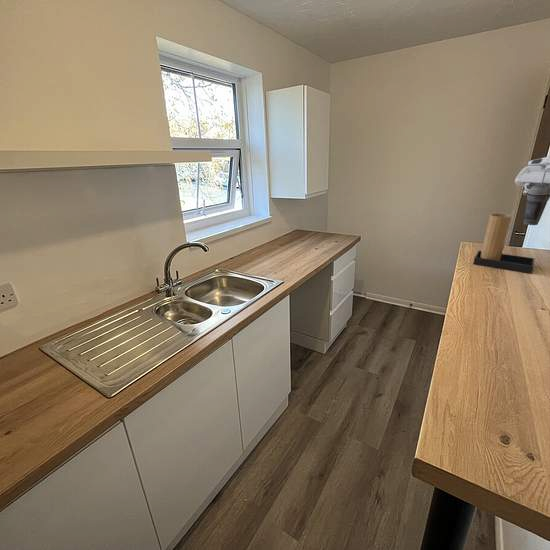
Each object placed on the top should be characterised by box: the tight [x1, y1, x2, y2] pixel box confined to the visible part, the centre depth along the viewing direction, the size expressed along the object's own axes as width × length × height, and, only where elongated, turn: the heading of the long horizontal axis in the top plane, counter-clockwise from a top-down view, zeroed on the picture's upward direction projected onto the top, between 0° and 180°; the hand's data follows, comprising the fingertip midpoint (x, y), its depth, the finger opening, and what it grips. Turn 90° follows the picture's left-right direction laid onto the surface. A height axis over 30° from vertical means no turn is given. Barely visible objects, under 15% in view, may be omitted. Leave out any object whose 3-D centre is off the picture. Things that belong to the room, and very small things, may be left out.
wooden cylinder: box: [480, 213, 513, 261], centre depth 123 cm, size 7×7×20 cm
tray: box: [473, 250, 535, 275], centre depth 123 cm, size 19×11×3 cm, turn 51°
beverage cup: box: [523, 171, 550, 226], centre depth 117 cm, size 7×7×20 cm
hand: (538, 195), depth 116 cm, fingers closed on beverage cup, 7 cm apart
